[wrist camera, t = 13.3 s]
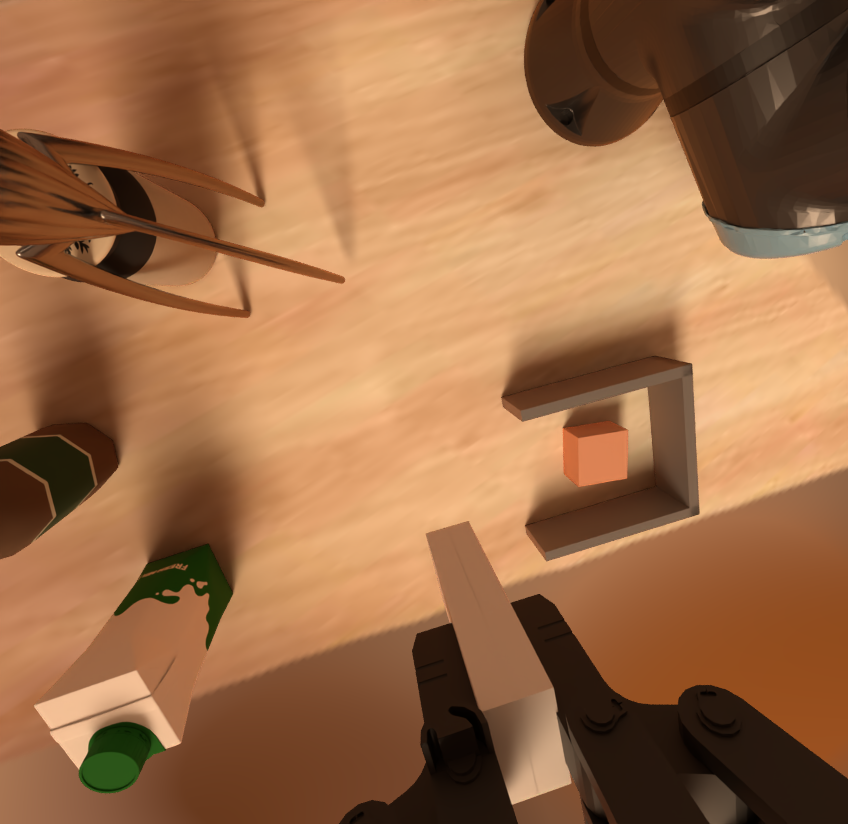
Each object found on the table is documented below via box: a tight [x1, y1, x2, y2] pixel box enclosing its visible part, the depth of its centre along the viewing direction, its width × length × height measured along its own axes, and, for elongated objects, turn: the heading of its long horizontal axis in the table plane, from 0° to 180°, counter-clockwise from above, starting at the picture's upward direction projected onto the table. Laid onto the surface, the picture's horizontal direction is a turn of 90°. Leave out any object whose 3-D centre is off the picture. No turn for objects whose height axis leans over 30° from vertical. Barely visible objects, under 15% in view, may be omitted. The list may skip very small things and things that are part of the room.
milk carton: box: [34, 544, 233, 793], centre depth 41 cm, size 9×9×20 cm
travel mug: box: [0, 129, 216, 286], centre depth 33 cm, size 8×8×18 cm
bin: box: [501, 356, 699, 561], centre depth 51 cm, size 19×18×6 cm
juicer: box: [0, 129, 345, 318], centre depth 28 cm, size 10×11×30 cm
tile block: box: [563, 421, 628, 487], centre depth 52 cm, size 6×6×4 cm
